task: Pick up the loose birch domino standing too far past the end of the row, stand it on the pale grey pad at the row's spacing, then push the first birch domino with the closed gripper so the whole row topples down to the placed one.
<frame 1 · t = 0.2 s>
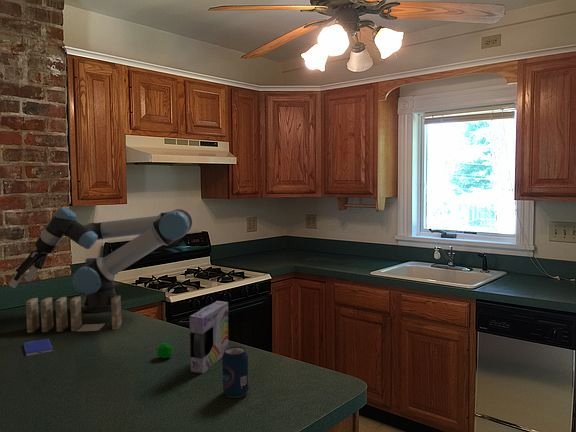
hand: (19, 283, 209), 15 cm above the worktop, tool tilted 35°, fingers open, 13 cm apart
domino 4: (76, 328, 196), on the worktop
domino 3: (62, 328, 196), on the worktop
cake pan box: (210, 363, 158), on the worktop
domino 2: (47, 329, 195), on the worktop
domino 1: (33, 329, 195), on the worktop
end pad: (91, 327, 196), on the worktop
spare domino: (117, 327, 197), on the worktop
soda can: (236, 393, 136), on the worktop
polyhedron: (165, 358, 163), on the worktop
hard drive: (38, 350, 174), on the worktop
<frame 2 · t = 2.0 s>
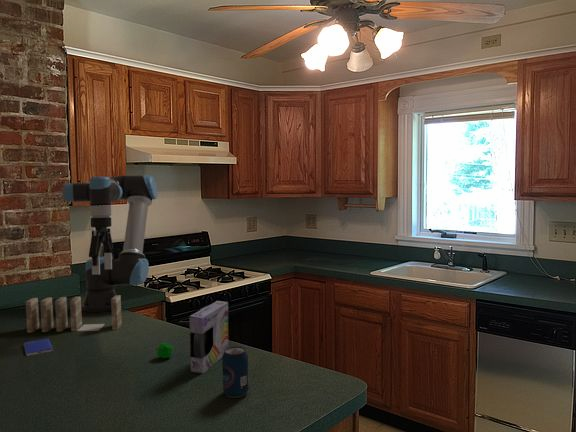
hand: (102, 271, 194), 22 cm above the worktop, tool pointing down, fingers open, 13 cm apart
nothing on the worktop moved.
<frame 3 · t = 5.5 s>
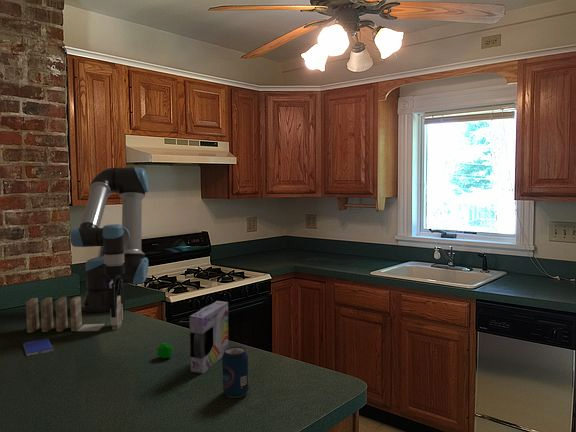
hand: (116, 322, 197), 2 cm above the worktop, tool pointing down, fingers closed on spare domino, 6 cm apart
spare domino: (117, 327, 197), on the worktop, touching gripper
everything else where it was.
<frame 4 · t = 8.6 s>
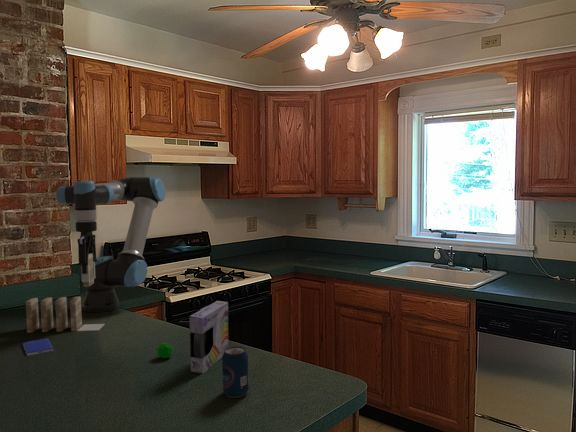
hand: (88, 280, 195), 19 cm above the worktop, tool pointing down, fingers closed on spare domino, 6 cm apart
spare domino: (88, 284, 195), point 17 cm above the worktop, touching gripper
everything else where it was.
when the fingers open (4 cm above the worktop, at t = 11.9 s): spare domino drops 1 cm, resting on end pad.
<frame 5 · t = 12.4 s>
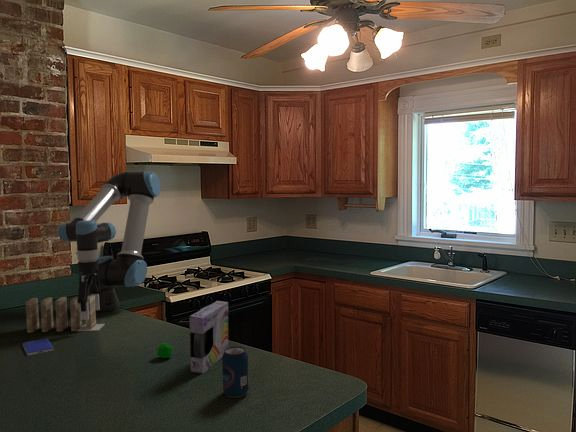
hand: (90, 314, 196), 5 cm above the worktop, tool pointing down, fingers open, 12 cm apart
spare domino: (91, 327, 196), resting on end pad
everything else where it was.
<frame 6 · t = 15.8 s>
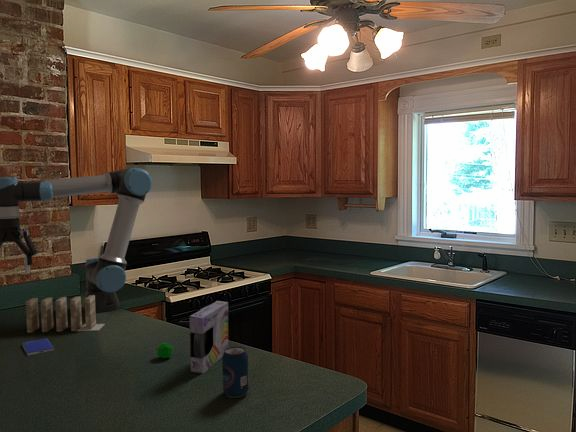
hand: (11, 274, 193), 22 cm above the worktop, tool pointing down, fingers open, 11 cm apart
nothing on the worktop moved.
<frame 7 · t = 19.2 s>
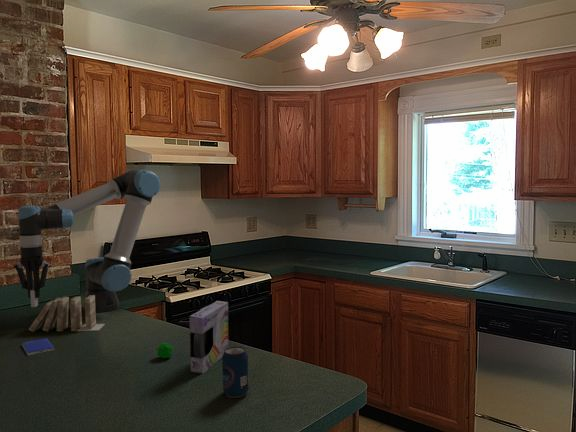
hand: (34, 306, 194), 9 cm above the worktop, tool pointing down, fingers closed
domino 2: (48, 328, 195), on the worktop, tilted 21°
domino 1: (34, 328, 195), point 1 cm above the worktop, tilted 36°
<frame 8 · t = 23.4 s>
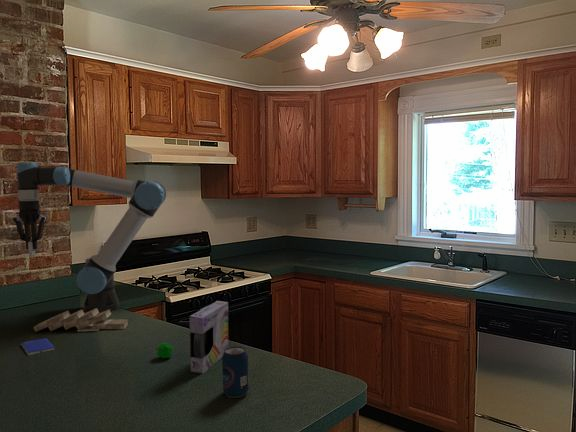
hand: (32, 257, 206), 26 cm above the worktop, tool pointing down, fingers closed
domino 4: (79, 325, 196), point 1 cm above the worktop, tilted 69°, touching domino 3, end pad, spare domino
domino 3: (67, 325, 196), point 1 cm above the worktop, tilted 66°, touching domino 2, domino 4
domino 2: (52, 326, 196), point 1 cm above the worktop, tilted 66°, touching domino 1, domino 3
domino 1: (38, 327, 195), point 1 cm above the worktop, tilted 67°, touching domino 2
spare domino: (94, 324, 196), point 1 cm above the worktop, tilted 92°, touching domino 4, end pad
everything else where it was.
at the end: domino 1 tilted 67°; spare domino tilted 92°; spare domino inside the target area (1.4 cm from its centre), point 1.4 cm above the worktop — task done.
